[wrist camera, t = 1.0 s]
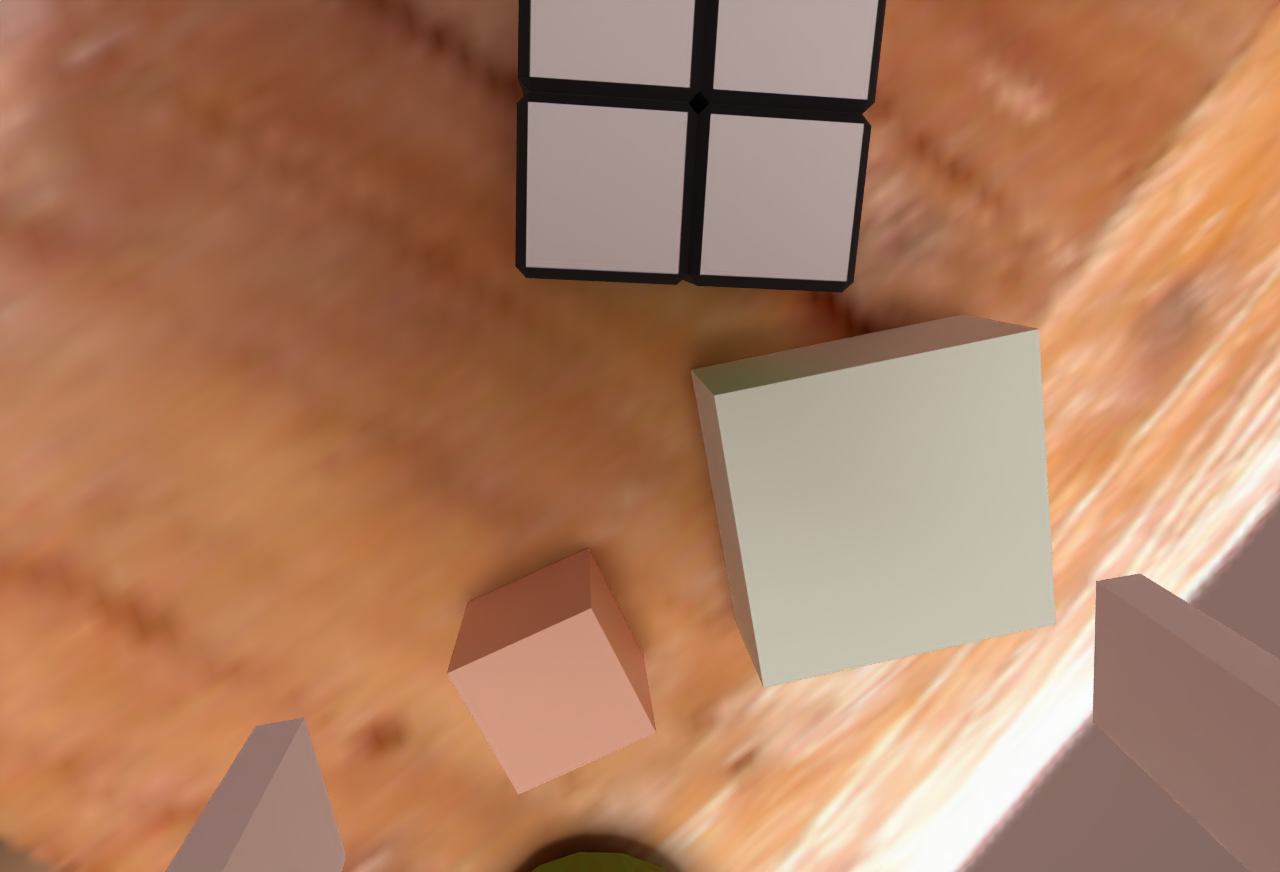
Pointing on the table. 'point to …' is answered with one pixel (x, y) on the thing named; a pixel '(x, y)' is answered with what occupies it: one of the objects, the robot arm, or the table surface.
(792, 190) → the puzzle cube
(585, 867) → the apple
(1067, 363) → the table surface
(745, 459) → the pedestal
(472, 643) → the terracotta block
